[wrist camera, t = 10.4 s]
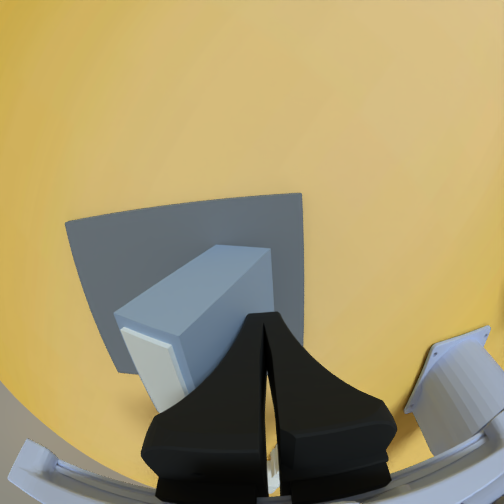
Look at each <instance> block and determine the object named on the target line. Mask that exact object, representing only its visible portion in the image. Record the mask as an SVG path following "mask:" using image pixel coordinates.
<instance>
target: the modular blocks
mask: <svg viewBox="0 0 504 504" xmlns="http://www.w3.org/2000/svg"><path fill="white" fill-rule="evenodd" d="M270 456H271V461H269V460H267V474H268V493H273V492H274V491H275V490H276V488H278V487H279V486H280V480H279V464H278V448H277V444H276V447H275V448H274V449H273V450H272V451H271V453H270Z"/></svg>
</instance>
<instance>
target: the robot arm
mask: <svg viewBox="0 0 504 504" xmlns="http://www.w3.org/2000/svg"><path fill="white" fill-rule="evenodd" d="M490 330H491V327H490V326H489V325H487V326H484V327H482V328H479V329H477V330H474V331H471V332H469V333H466V334H463V335H460V336H457V337H454V338H451V339H448V340H445V341H442V342H438V343H435V344H434V345H433V346H432V347H431V349H430V351H429V354H428V357H427V359H426V362H425V364H424V367H423V369H422V372H421V374H420V376H419V379H418V381H417V383H416V386H415V388H414V390H413V392H412V394H411V396H410V398H409V401H408V403H407V405H406V407H405V409H404V413H405V414H408V413H411V412H413V414H414V417H415V419H416V421H417V423H418V425H419V427H420V429H421V431H422V433H423V436H424V438H425V440H426V442H427V445H428V447H429V449H430V451H431V453H432V454H433V455H434V457H432V458H430V459H428V460H425V461H423V462H421V463H418V464H416V465H413V466H411V467H408V468H405V469H403V470H400V471H397V472H394V473H391V474H390V473H389V470H388V466H387V463H386V462H387V461H388V455H387V452H386V449H387V447H388V446H389V444H390V443H391V441H392V439H393V438H394V436H395V434H396V432H397V426H396V423H395V421H394V418H393V416H392V415H391V413H390V411H389V410H388V408H387V406H386V405H385V403H384V402H383V401H382V400H380V399H378V398H375V397H373V396H371V395H368V394H366V393H364V392H361V391H359V390H358V389H356V388H354V387H352V386H350V385H348V384H347V383H345V382H344V381H342V380H341V379H339V378H338V377H336V376H335V375H333V374H332V373H331V372H329V371H328V370H327V369H326V368H324V367H323V366H322V365H321V364H320V363H319V362H317V361H316V360H315V359H314V358H313V357H312V356H311V355H310V354H309V353H308V352H307V351H306V350H305V349H304V347H303V346H302V345H301V344H300V343H299V342H298V340H297V339H296V338H295V336H294V335H293V334H292V333H291V331H290V330H289V328H288V327H287V325H286V324H285V322H284V320H283V318H282V316H281V314H280V313H279V312H278V311H275V312H262V313H249V314H248V315H247V316H246V318H245V321H244V323H243V326H242V328H241V330H240V332H239V334H238V336H237V338H236V339H235V341H234V343H233V345H232V346H231V348H230V349H229V351H228V352H227V354H226V355H225V357H224V358H223V359H222V361H221V362H220V363H219V365H218V366H217V367H216V368H215V369H214V370H213V372H212V373H211V374H210V375H209V376H208V377H207V378H206V379H205V380H204V381H203V382H202V383H201V384H200V385H199V386H198V387H197V388H196V389H194V390H193V391H192V392H191V393H189V394H188V395H187V396H186V397H184V398H183V399H182V400H181V401H179V402H178V403H176V404H175V405H173V406H172V407H170V408H168V409H167V410H165V411H163V412H162V413H160V414H158V415H156V416H155V417H154V418H153V420H152V422H151V424H150V426H149V428H148V431H147V433H146V436H145V440H144V443H143V446H142V450H141V457H142V459H143V460H144V461H145V463H146V464H147V465H148V466H149V467H150V468H151V469H152V470H153V471H154V472H155V473H156V474H157V475H158V476H159V479H158V483H157V488H156V489H151V488H146V487H142V486H138V485H133V484H129V483H126V482H122V481H118V480H115V479H111V478H108V477H105V476H102V475H99V474H96V473H93V472H90V471H87V470H85V469H82V468H79V467H77V466H74V465H72V464H69V463H67V462H65V461H62V460H60V459H58V457H57V456H56V455H55V454H53V453H52V452H51V451H50V450H49V449H47V448H46V447H44V446H43V445H40V444H38V443H36V442H34V441H33V440H31V439H29V438H27V439H26V441H25V443H24V445H23V447H22V449H21V450H20V452H19V454H18V456H17V458H16V460H15V462H14V464H13V467H12V469H11V471H10V473H9V475H8V480H9V481H10V482H12V483H13V484H15V485H16V486H17V487H19V488H20V489H21V490H23V491H24V492H26V493H27V494H29V495H30V496H32V497H33V498H35V499H36V500H38V501H39V502H41V503H42V504H360V503H362V504H504V371H503V370H502V369H501V367H500V366H499V365H498V364H497V362H496V361H495V360H494V359H493V358H492V357H491V355H490V354H489V353H488V352H487V351H486V350H485V349H484V344H485V342H486V340H487V337H488V335H489V332H490ZM267 372H268V378H269V384H270V389H271V395H272V400H273V406H274V412H275V419H276V434H277V448H278V464H279V480H280V496H276V497H269V494H268V474H267V454H266V434H265V400H266V382H267Z"/></svg>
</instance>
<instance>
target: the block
mask: <svg viewBox="0 0 504 504" xmlns="http://www.w3.org/2000/svg"><path fill="white" fill-rule="evenodd" d="M262 312H274V297H273V279H272V263H271V248H259V247H245V246H231V245H215V246H213V247H212V248H210V249H208V250H207V251H205V252H204V253H202V254H201V255H199V256H198V257H196V258H195V259H193V260H192V261H190V262H188V263H187V264H185V265H184V266H182V267H181V268H179V269H178V270H176V271H175V272H173V273H172V274H170V275H169V276H167V277H166V278H164V279H163V280H161V281H160V282H158V283H157V284H155V285H154V286H152V287H151V288H149V289H148V290H146V291H145V292H143V293H142V294H140V295H139V296H137V297H136V298H134V299H133V300H131V301H130V302H129V303H127V304H126V305H124V306H123V307H121V308H120V309H118V310H117V311H115V312H114V316H115V319H116V322H117V324H118V327H119V330H120V332H121V335H122V337H123V340H124V342H125V345H126V347H127V349H128V352H129V354H130V356H131V359H132V361H133V363H134V365H135V367H136V370H137V372H138V374H139V376H140V378H141V380H142V382H143V384H144V386H145V388H146V390H147V392H148V394H149V396H150V398H151V400H152V402H153V404H154V406H155V407H156V409H157V411H158V412H159V413H162V412H163V411H165V410H167V409H168V408H170V407H172V406H173V405H175V404H176V403H178V402H179V401H181V400H182V399H183V398H184V397H186V396H187V395H188V394H189V393H191V392H192V391H193V390H194V389H196V388H197V387H198V386H199V385H200V384H201V383H202V382H203V381H204V380H205V379H206V378H207V377H208V376H209V375H210V374H211V373H212V372H213V370H214V369H215V368H216V367H217V366H218V365H219V363H220V362H221V361H222V359H223V358H224V357H225V355H226V354H227V352H228V351H229V349H230V348H231V346H232V345H233V343H234V341H235V339H236V338H237V336H238V334H239V332H240V330H241V328H242V326H243V323H244V321H245V318H246V316H247V315H248V314H249V313H262Z"/></svg>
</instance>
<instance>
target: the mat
mask: <svg viewBox="0 0 504 504" xmlns="http://www.w3.org/2000/svg"><path fill="white" fill-rule="evenodd" d="M65 227H66V231H67V235H68V239H69V243H70V247H71V251H72V255H73V258H74V262H75V265H76V269H77V272H78V275H79V278H80V281H81V284H82V287H83V290H84V293H85V296H86V299H87V302H88V304H89V307H90V310H91V312H92V315H93V318H94V320H95V323H96V325H97V327H98V330H99V332H100V335H101V337H102V339H103V341H104V344H105V346H106V348H107V350H108V352H109V355H110V357H111V359H112V361H113V363H114V365H115V367H116V369H117V371H118V372H120V373H129V374H138V372H137V370H136V367H135V365H134V363H133V361H132V359H131V356H130V354H129V352H128V349H127V347H126V345H125V342H124V340H123V337H122V335H121V332H120V330H119V327H118V324H117V322H116V319H115V316H114V312H115V311H117V310H118V309H120V308H121V307H123V306H124V305H126V304H127V303H129V302H130V301H131V300H133V299H134V298H136V297H137V296H139V295H140V294H142V293H143V292H145V291H146V290H148V289H149V288H151V287H152V286H154V285H155V284H157V283H158V282H160V281H161V280H163V279H164V278H166V277H167V276H169V275H170V274H172V273H173V272H175V271H176V270H178V269H179V268H181V267H182V266H184V265H185V264H187V263H188V262H190V261H192V260H193V259H195V258H196V257H198V256H199V255H201V254H202V253H204V252H205V251H207V250H208V249H210V248H212V247H213V246H215V245H231V246H245V247H259V248H271V263H272V279H273V297H274V312H275V311H278V312H279V313H280V314H281V316H282V318H283V320H284V322H285V324H286V325H287V327H288V328H289V330H290V331H291V333H292V334H293V335H294V336H295V338H296V339H297V340H298V342H299V343H300V344H301V345H302V346H303V333H304V238H303V208H302V194H301V193H289V194H274V195H260V196H248V197H237V198H226V199H216V200H206V201H197V202H189V203H180V204H172V205H165V206H157V207H150V208H143V209H136V210H130V211H123V212H117V213H111V214H105V215H99V216H94V217H88V218H83V219H77V220H72V221H68V222H66V223H65ZM267 375H268V372H267Z"/></svg>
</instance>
